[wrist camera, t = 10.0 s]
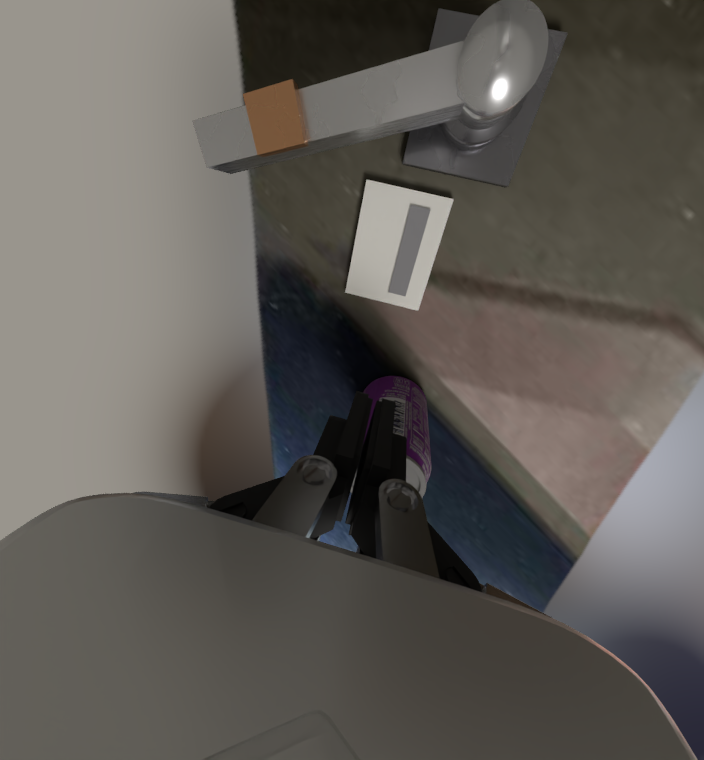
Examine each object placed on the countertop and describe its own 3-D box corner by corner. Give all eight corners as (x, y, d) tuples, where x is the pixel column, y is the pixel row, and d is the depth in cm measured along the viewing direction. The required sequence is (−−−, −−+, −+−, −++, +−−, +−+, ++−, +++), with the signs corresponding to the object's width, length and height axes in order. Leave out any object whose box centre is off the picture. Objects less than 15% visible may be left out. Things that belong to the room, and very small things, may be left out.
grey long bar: (527, 27, 16) (557, -22, 13) (520, 121, 18) (544, 98, 15) (215, 118, 21) (178, 99, 17) (234, 186, 22) (203, 180, 19)
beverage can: (349, 397, 34) (321, 475, 24) (395, 359, 31) (386, 430, 21) (391, 436, 36) (383, 526, 25) (440, 404, 32) (453, 491, 22)
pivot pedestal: (437, 16, 19) (442, -23, 16) (562, 39, 19) (590, 4, 16) (402, 164, 23) (401, 156, 20) (505, 187, 23) (519, 182, 20)
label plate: (367, 180, 24) (366, 179, 23) (452, 199, 24) (453, 199, 23) (346, 291, 29) (344, 292, 28) (418, 309, 28) (418, 311, 28)
